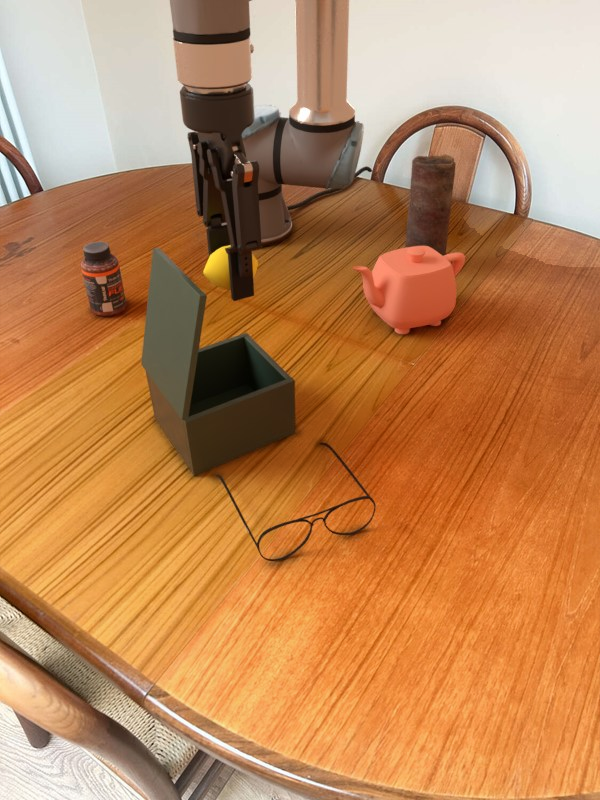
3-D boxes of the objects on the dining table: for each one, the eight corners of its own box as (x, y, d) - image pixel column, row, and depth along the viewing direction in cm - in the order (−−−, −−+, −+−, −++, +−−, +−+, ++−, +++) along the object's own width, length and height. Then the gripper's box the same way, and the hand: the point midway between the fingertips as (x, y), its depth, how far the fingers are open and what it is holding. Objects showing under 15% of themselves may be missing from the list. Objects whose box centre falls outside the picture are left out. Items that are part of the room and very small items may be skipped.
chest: (250, 383, 94) (246, 332, 89) (295, 433, 86) (294, 380, 80) (154, 419, 88) (144, 366, 83) (194, 476, 80) (185, 422, 75)
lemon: (252, 272, 85) (249, 233, 81) (266, 291, 81) (264, 251, 77) (199, 283, 82) (194, 243, 79) (211, 303, 79) (207, 262, 75)
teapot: (436, 288, 115) (446, 224, 107) (476, 322, 106) (489, 254, 99) (333, 313, 109) (335, 247, 101) (367, 351, 100) (372, 281, 92)
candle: (397, 271, 119) (408, 161, 107) (407, 254, 125) (419, 147, 112) (439, 279, 117) (454, 167, 104) (447, 261, 122) (463, 152, 110)
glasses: (259, 569, 70) (254, 535, 67) (217, 486, 81) (212, 454, 78) (377, 526, 74) (378, 492, 71) (322, 453, 86) (320, 422, 83)
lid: (159, 247, 75) (152, 247, 74) (207, 295, 67) (200, 295, 66) (146, 363, 83) (140, 364, 82) (188, 419, 74) (181, 420, 74)
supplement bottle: (118, 319, 108) (105, 257, 100) (85, 316, 109) (69, 253, 101) (132, 301, 112) (120, 239, 105) (100, 297, 113) (86, 236, 106)
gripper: (292, 100, 62) (294, 311, 77) (213, 62, 74) (228, 250, 89) (219, 112, 59) (236, 329, 74) (150, 70, 71) (176, 263, 86)
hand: (232, 285), depth 81 cm, fingers closed on lemon, 5 cm apart
